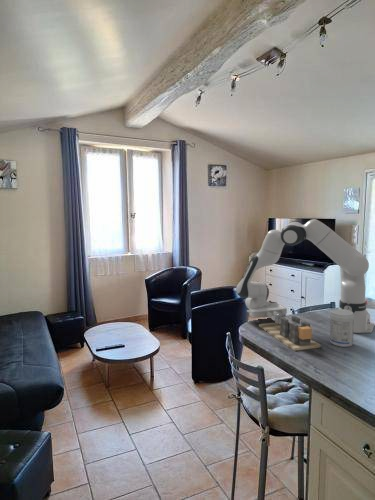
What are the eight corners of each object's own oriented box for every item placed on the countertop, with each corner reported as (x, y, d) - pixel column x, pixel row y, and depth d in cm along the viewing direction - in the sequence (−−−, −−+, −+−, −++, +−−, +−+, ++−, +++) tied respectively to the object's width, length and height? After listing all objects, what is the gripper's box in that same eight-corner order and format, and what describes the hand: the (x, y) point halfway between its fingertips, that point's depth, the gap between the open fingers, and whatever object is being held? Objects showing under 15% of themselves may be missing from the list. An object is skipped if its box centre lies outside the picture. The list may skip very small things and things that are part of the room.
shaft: (269, 321, 168) (269, 310, 167) (279, 320, 169) (279, 309, 168) (293, 336, 146) (293, 323, 146) (304, 335, 148) (305, 322, 147)
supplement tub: (337, 338, 154) (338, 307, 152) (357, 344, 146) (358, 312, 144) (325, 342, 148) (326, 311, 147) (345, 349, 140) (346, 316, 139)
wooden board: (259, 326, 171) (259, 308, 171) (281, 324, 175) (281, 306, 174) (294, 350, 140) (294, 329, 139) (320, 347, 143) (321, 326, 142)
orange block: (298, 337, 143) (298, 327, 143) (307, 336, 144) (308, 326, 144) (302, 339, 141) (302, 329, 140) (311, 338, 142) (311, 328, 141)
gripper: (245, 304, 179) (256, 311, 165) (278, 301, 184) (292, 308, 170) (245, 316, 179) (256, 323, 166) (278, 312, 184) (292, 320, 171)
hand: (274, 315), depth 168 cm, fingers closed, pressing on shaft
